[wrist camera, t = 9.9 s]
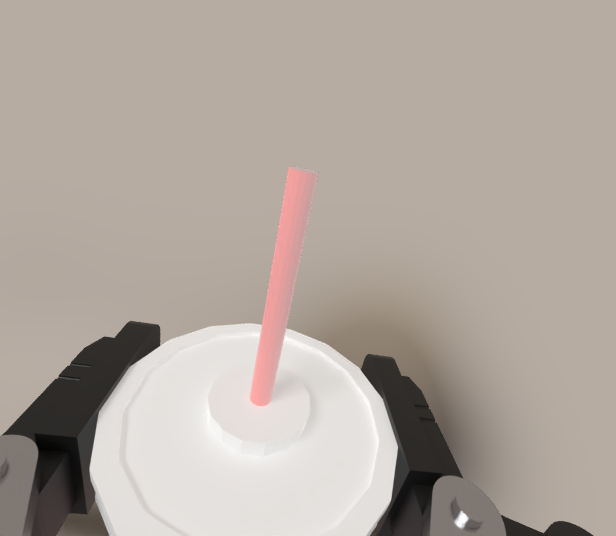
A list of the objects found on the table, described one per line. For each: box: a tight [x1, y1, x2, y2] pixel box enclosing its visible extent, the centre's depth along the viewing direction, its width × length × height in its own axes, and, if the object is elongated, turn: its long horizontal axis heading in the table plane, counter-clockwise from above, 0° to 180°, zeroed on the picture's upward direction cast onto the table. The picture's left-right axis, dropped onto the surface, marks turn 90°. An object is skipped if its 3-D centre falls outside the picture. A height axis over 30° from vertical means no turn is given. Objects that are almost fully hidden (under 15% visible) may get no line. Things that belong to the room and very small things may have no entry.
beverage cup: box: [89, 166, 398, 536], centre depth 8 cm, size 6×6×14 cm
